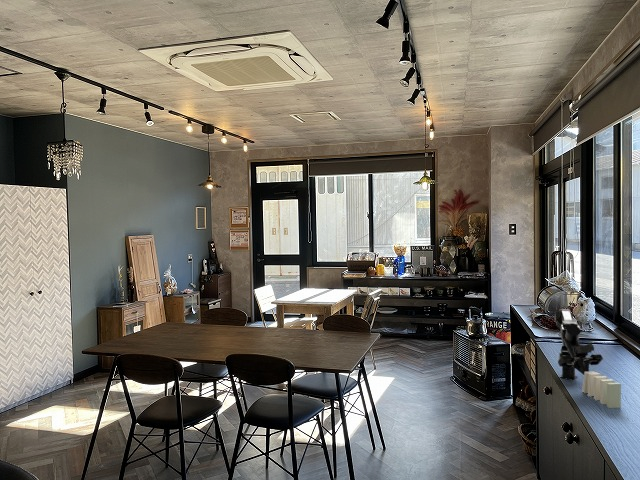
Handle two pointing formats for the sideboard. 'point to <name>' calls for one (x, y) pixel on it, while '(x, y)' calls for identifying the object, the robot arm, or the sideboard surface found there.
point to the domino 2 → (591, 383)
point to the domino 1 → (586, 381)
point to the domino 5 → (613, 395)
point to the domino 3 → (597, 386)
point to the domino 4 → (604, 390)
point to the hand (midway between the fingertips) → (588, 377)
